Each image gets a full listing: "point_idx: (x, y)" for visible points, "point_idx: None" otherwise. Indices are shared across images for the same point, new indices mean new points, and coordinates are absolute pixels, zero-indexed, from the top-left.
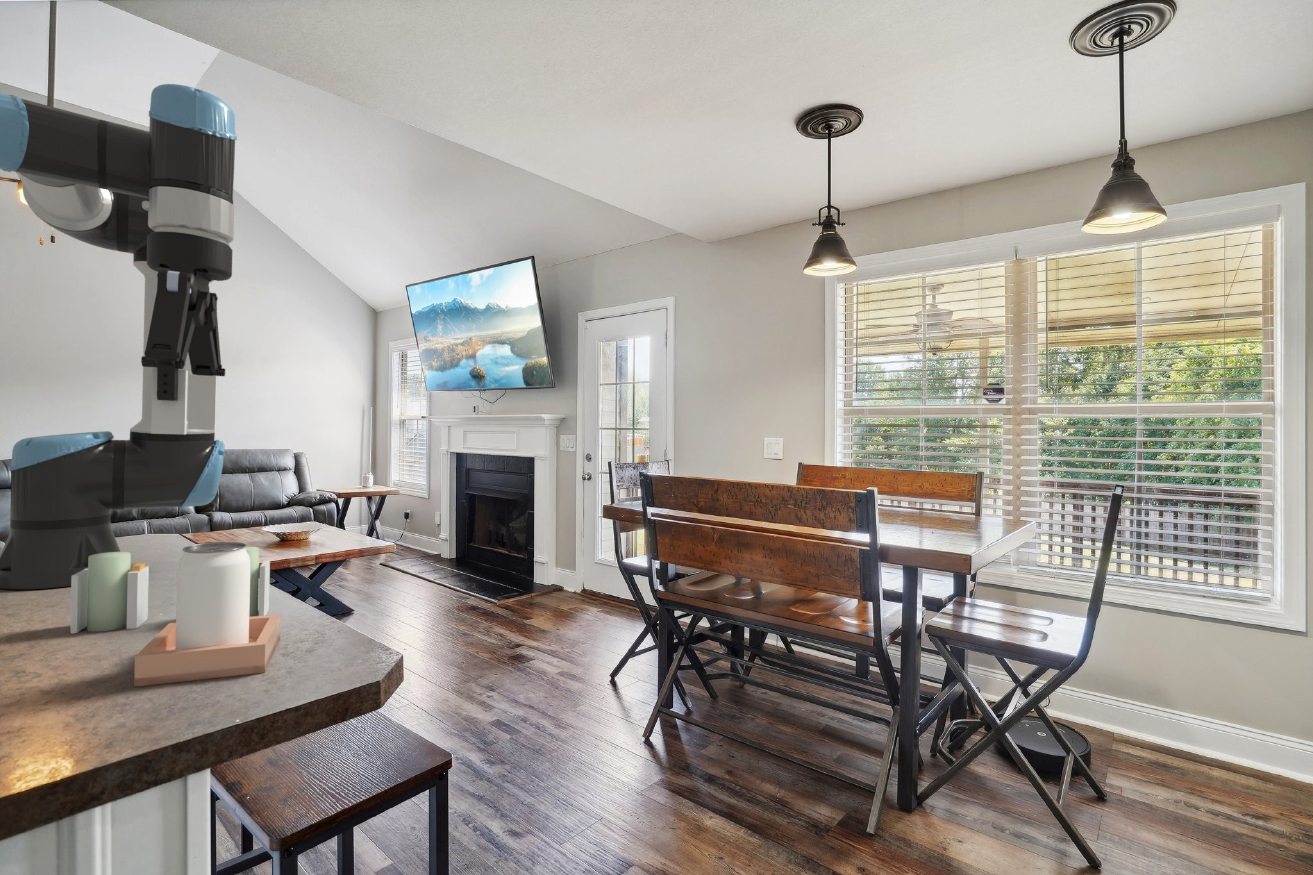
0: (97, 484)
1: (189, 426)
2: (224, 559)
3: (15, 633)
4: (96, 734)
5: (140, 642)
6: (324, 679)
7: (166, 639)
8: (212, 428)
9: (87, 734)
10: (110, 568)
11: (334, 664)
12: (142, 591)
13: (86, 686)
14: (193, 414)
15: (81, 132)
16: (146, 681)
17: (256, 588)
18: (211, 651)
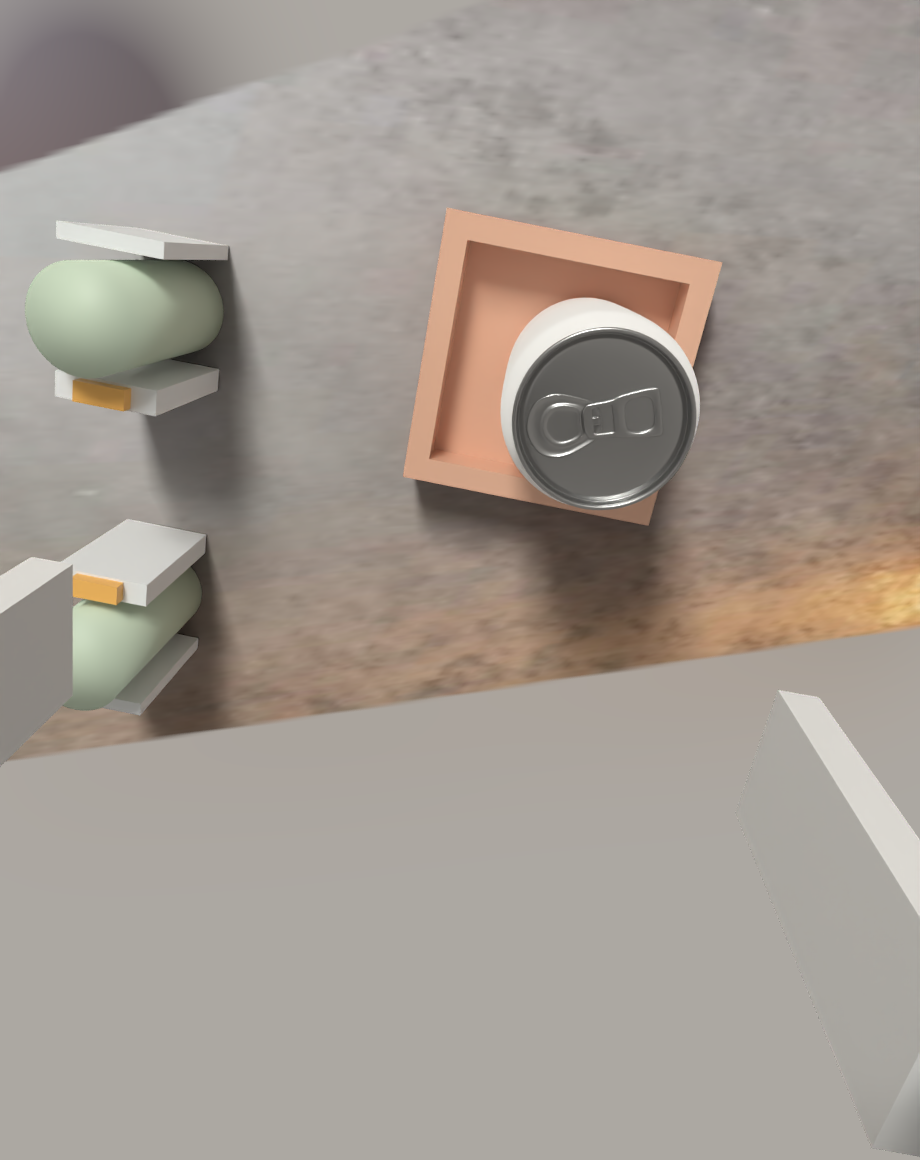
0: None
1: (64, 694)
2: (694, 390)
3: (154, 733)
4: (854, 540)
5: (328, 518)
6: (843, 126)
7: (518, 475)
8: (66, 578)
9: (844, 553)
10: (135, 648)
11: (748, 87)
12: (133, 554)
13: (584, 581)
14: (22, 717)
15: None
16: None
17: (162, 266)
18: None
